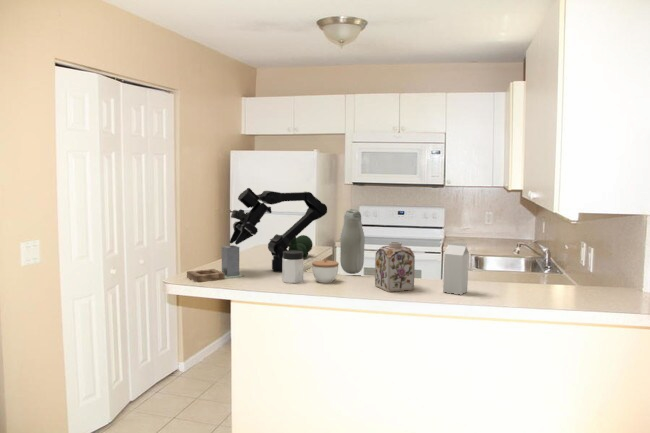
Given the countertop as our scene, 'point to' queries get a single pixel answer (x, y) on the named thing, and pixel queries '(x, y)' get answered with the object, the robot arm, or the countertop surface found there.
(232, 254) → the grey rectangular block
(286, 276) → the jar
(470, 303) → the countertop surface
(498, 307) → the countertop surface
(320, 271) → the lidded jar
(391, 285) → the decorative jar
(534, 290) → the countertop surface
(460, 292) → the milk carton
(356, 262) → the grey green vase
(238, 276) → the mat
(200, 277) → the socket block
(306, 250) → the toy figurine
